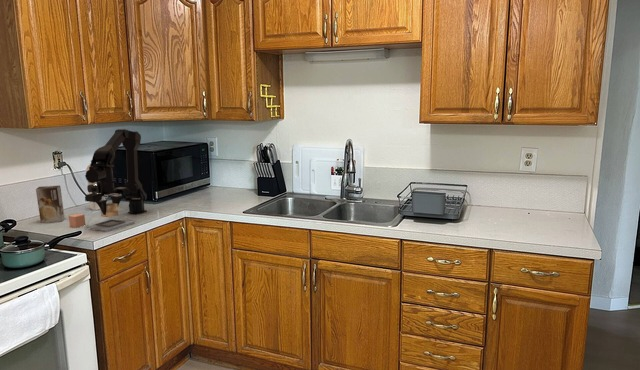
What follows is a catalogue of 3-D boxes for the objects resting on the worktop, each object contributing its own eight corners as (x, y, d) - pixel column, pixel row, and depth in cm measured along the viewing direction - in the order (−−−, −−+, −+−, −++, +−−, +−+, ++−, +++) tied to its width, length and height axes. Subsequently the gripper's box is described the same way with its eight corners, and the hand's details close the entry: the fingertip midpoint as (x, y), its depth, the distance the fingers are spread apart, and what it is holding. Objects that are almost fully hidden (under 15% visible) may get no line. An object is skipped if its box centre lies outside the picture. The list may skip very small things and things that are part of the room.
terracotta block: (79, 224, 215) (77, 213, 214) (85, 225, 212) (84, 214, 212) (69, 226, 211) (68, 215, 210) (76, 228, 209) (75, 217, 208)
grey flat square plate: (114, 220, 221) (114, 217, 220) (134, 223, 215) (134, 220, 214) (86, 228, 207) (85, 225, 207) (106, 231, 202) (106, 228, 201)
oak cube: (110, 213, 214) (109, 202, 213) (118, 214, 211) (117, 203, 210) (101, 216, 209) (99, 205, 208) (108, 217, 207) (107, 206, 206)
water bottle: (90, 210, 239) (84, 161, 234) (90, 207, 245) (85, 159, 240) (105, 209, 242) (100, 160, 237) (105, 206, 248) (100, 158, 243)
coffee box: (65, 218, 225) (61, 185, 222) (62, 221, 219) (57, 187, 216) (43, 219, 223) (39, 186, 220) (39, 223, 217) (35, 188, 214)
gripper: (111, 174, 219) (114, 206, 222) (74, 181, 203) (78, 216, 206) (128, 175, 214) (131, 209, 217) (92, 182, 198) (96, 219, 201)
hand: (109, 213), depth 210 cm, fingers closed on oak cube, 5 cm apart
